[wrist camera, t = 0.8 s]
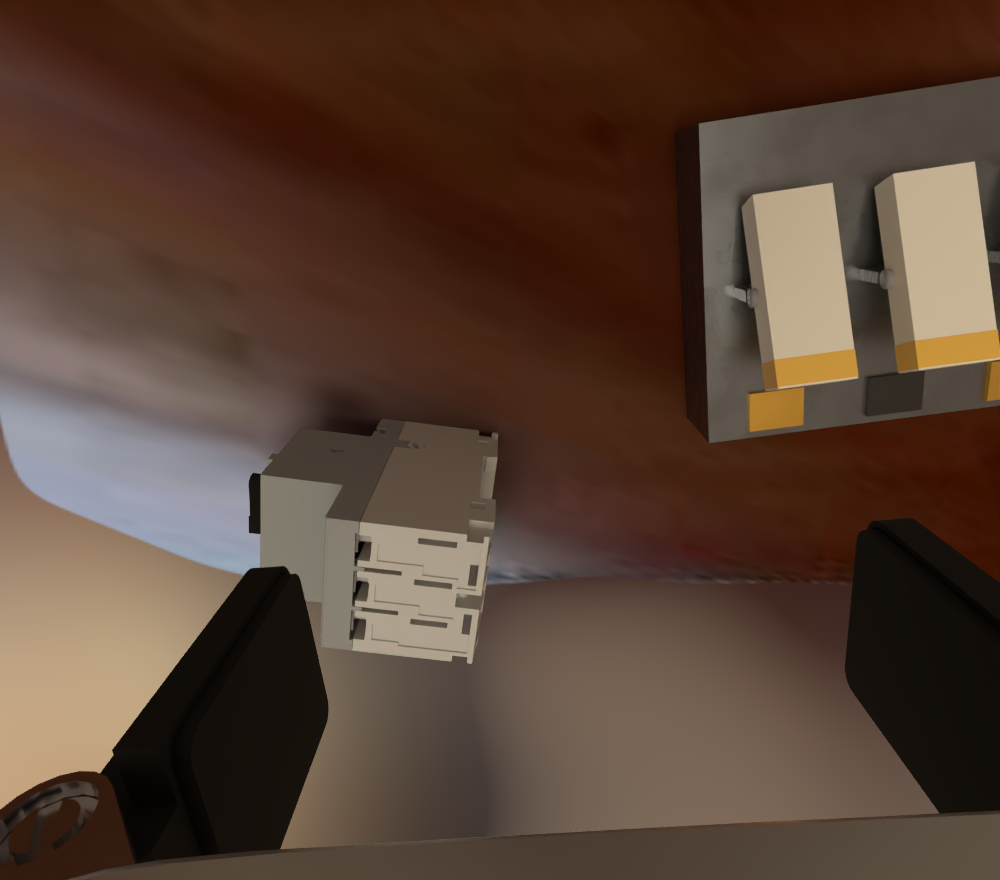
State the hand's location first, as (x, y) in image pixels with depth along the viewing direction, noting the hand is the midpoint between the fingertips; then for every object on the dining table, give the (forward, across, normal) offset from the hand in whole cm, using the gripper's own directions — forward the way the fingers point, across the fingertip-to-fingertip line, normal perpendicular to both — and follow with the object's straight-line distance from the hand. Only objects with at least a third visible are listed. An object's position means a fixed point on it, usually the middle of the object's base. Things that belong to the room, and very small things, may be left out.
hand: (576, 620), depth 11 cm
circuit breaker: (+34, +11, +10) cm, 36 cm away
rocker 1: (+26, -14, -1) cm, 29 cm away
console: (+33, -21, -2) cm, 39 cm away
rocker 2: (+26, -21, -2) cm, 33 cm away
